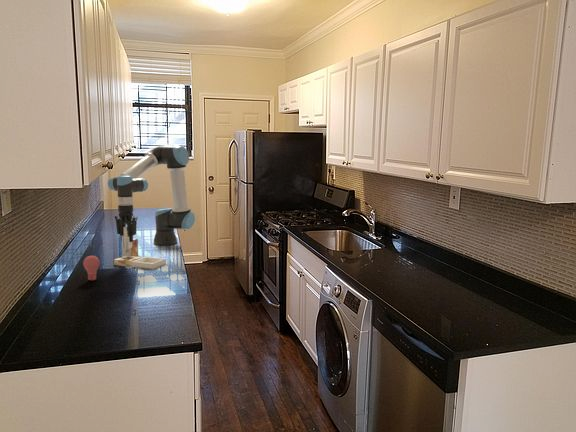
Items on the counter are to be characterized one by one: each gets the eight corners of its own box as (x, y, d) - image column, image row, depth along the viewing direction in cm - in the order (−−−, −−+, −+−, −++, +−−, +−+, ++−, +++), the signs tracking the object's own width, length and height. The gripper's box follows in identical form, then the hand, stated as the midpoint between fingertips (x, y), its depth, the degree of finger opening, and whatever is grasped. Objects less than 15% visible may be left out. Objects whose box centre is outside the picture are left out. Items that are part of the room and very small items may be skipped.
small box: (131, 259, 248) (130, 241, 247) (122, 258, 249) (121, 240, 248) (138, 256, 256) (138, 238, 255) (130, 255, 257) (129, 237, 256)
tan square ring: (126, 260, 245) (126, 255, 245) (141, 262, 242) (141, 257, 242) (114, 264, 236) (114, 259, 236) (129, 266, 233) (129, 261, 232)
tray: (146, 261, 243) (145, 256, 243) (166, 264, 239) (165, 258, 239) (131, 267, 232) (131, 261, 232) (152, 269, 228) (152, 264, 228)
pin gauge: (126, 251, 240) (125, 225, 238) (131, 251, 239) (130, 226, 237) (122, 252, 237) (121, 226, 235) (127, 252, 236) (126, 227, 234)
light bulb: (93, 277, 213) (92, 253, 212) (103, 279, 210) (102, 255, 208) (81, 281, 207) (79, 256, 205) (91, 283, 204) (89, 258, 202)
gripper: (108, 204, 233) (110, 247, 237) (133, 206, 228) (135, 250, 231) (118, 203, 240) (119, 244, 244) (142, 204, 235) (144, 247, 238)
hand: (127, 247), depth 237 cm, fingers closed on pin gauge, 3 cm apart
